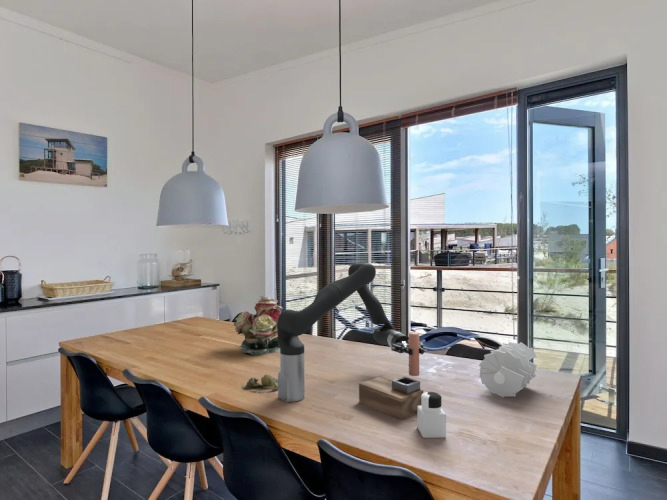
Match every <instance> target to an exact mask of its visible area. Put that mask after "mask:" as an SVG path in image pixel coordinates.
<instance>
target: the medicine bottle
mask: <svg viewBox="0 0 667 500" xmlns="http://www.w3.org/2000/svg"><path fill="white" fill-rule="evenodd" d="M416 414H417V422H416V423H417V429H418V431H419V433H420V435H421V436H422V439H425V438H426V439H430V438H431V439H435V438H436V439H437V438H438V439H439V438H441V439H442V438H447V414H446V412H445V411H444V410H443V408H442V395H441V394H439V393H437V392H434V391H426V392H423V394H422V395H421V406H417V413H416Z"/></svg>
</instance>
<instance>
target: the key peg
mask: <svg viewBox="0 0 667 500" xmlns="http://www.w3.org/2000/svg"><path fill="white" fill-rule="evenodd" d="M408 337H409V348H410V349H412V350H413V355H409V354H408V375H409V376H411V377H419V376H420V353H419V342H420V333H419V332H409V333H408Z"/></svg>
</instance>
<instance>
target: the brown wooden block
mask: <svg viewBox="0 0 667 500" xmlns="http://www.w3.org/2000/svg"><path fill="white" fill-rule="evenodd" d="M423 393H424V389H421V381H420V380H416V379H414V378H410V377H407V376H402V377H399V378H396V379H390V378H387V377H384V376H378V377H375V378H372V379H369V380H365V381H361V382H360V383H358V395H359V396H358V401H359V402H358V403H361V404H363V405H365V406H367V407H369V408H372V409H375V410H377V411H378V412H379V411H380V412H381V413H384V414H386V415H388V416H391V417H393V418H395V419H398V420H400V421H402V420H404V419H406V418H409V417H411V416H414V415H416V414H417V406H421V395H422V394H423ZM413 414H414V415H413Z"/></svg>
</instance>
